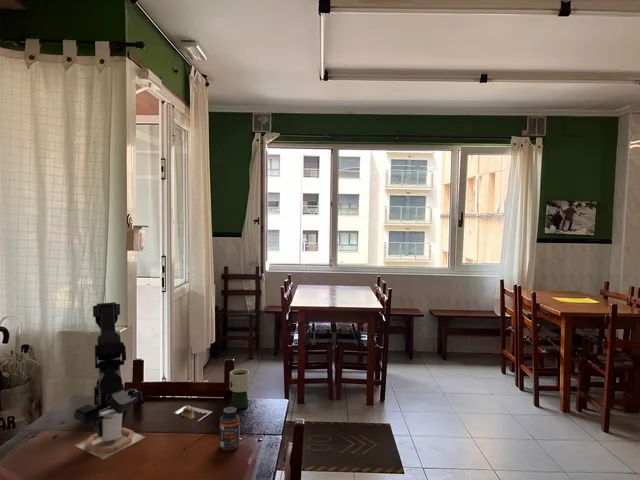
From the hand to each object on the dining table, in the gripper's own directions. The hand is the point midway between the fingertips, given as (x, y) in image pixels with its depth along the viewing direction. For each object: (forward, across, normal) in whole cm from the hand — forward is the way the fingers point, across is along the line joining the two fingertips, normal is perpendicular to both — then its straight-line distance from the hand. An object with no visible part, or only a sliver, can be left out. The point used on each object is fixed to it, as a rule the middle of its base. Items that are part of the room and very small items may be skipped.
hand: (110, 432), depth 129 cm
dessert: (+5, +25, -6) cm, 26 cm away
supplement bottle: (+4, +18, -31) cm, 36 cm away
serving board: (+4, 0, 0) cm, 4 cm away
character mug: (+4, +40, -16) cm, 43 cm away
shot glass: (+1, 0, 0) cm, 1 cm away
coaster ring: (+3, 0, 0) cm, 3 cm away
